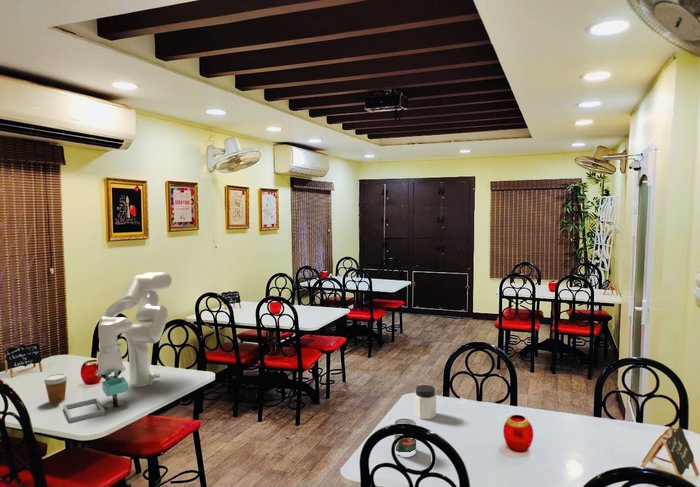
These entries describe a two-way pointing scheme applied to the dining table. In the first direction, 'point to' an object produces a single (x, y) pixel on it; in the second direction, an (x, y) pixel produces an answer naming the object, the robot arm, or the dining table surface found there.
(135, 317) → the robot arm
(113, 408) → the grey t-shaped stand
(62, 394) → the disposable coffee cup
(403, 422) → the canned tomato
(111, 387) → the teal box on base
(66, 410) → the tray
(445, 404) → the dining table surface
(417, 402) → the jar
